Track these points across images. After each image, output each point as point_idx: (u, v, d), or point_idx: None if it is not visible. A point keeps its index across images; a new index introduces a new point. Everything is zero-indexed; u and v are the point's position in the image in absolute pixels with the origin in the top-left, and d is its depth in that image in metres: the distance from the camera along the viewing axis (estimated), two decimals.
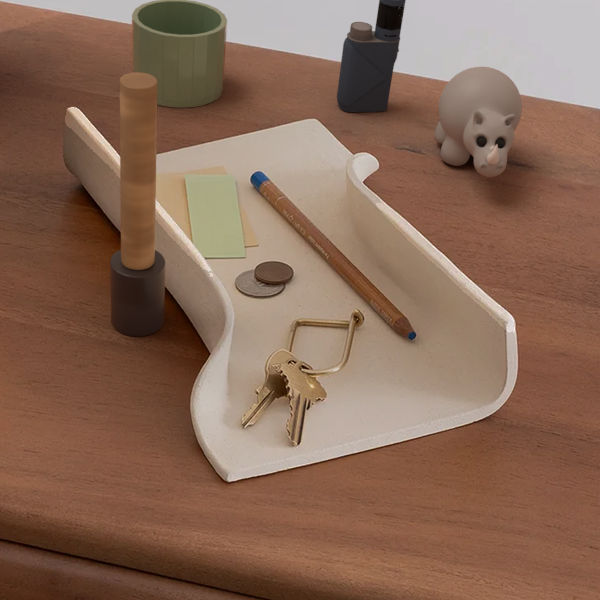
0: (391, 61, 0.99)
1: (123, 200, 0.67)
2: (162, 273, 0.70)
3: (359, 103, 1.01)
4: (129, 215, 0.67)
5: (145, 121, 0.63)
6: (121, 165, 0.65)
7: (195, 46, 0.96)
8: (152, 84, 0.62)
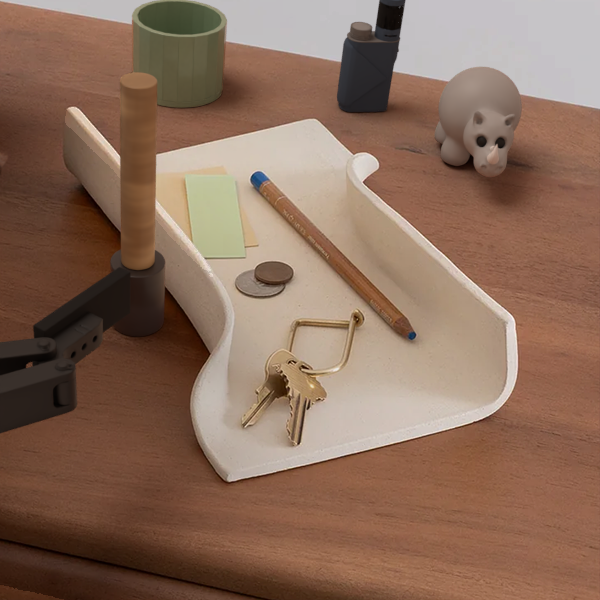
0: (391, 61, 0.99)
1: (123, 200, 0.67)
2: (162, 273, 0.70)
3: (359, 103, 1.01)
4: (129, 215, 0.67)
5: (145, 121, 0.63)
6: (121, 165, 0.65)
7: (195, 46, 0.96)
8: (152, 84, 0.62)
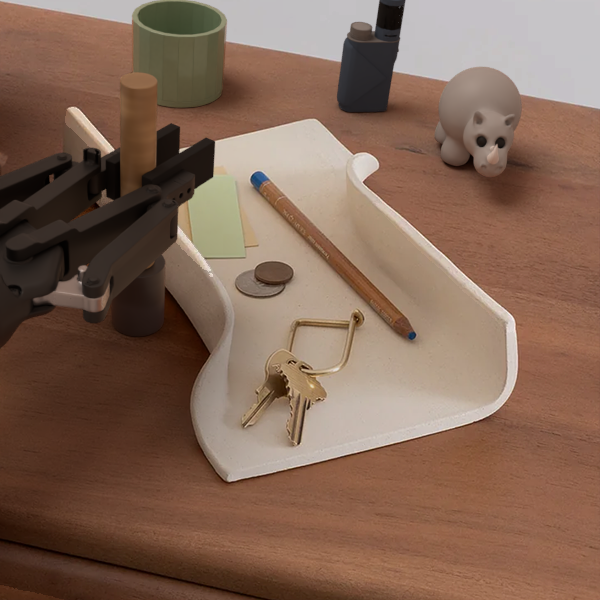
0: (391, 61, 0.99)
1: None
2: (162, 273, 0.70)
3: (359, 103, 1.01)
4: None
5: (145, 121, 0.63)
6: (121, 165, 0.65)
7: (195, 46, 0.96)
8: (152, 84, 0.62)
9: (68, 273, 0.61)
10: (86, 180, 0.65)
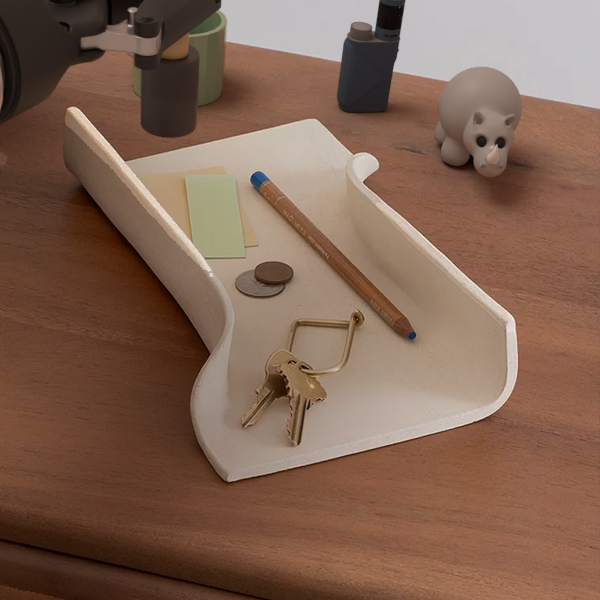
0: (391, 61, 0.99)
1: None
2: (197, 64, 0.66)
3: (359, 103, 1.01)
4: None
5: None
6: None
7: (195, 46, 0.96)
8: None
9: None
10: None
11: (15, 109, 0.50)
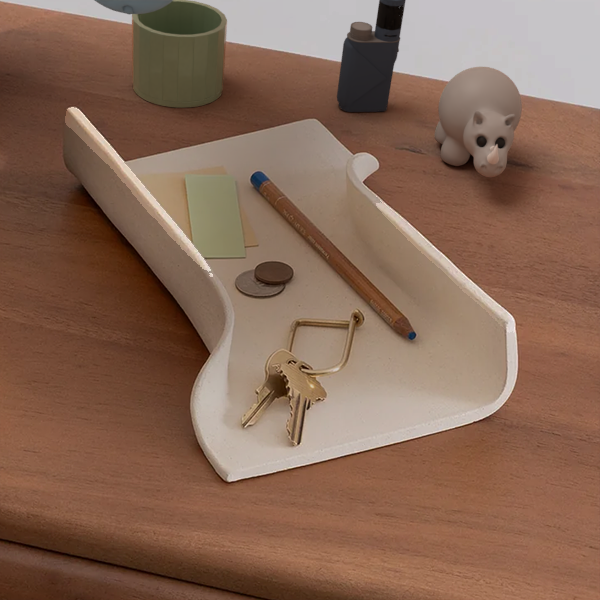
0: (391, 61, 0.99)
1: None
2: None
3: (359, 103, 1.01)
4: None
5: None
6: None
7: (195, 46, 0.96)
8: None
9: None
10: None
11: None
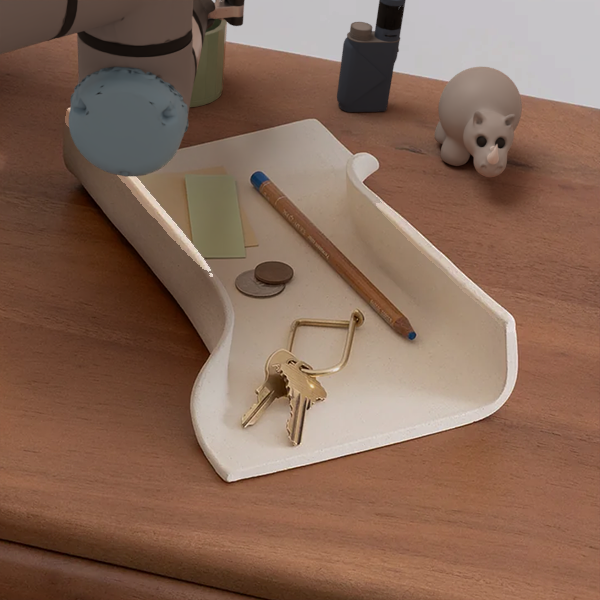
0: (391, 61, 0.99)
1: None
2: None
3: (359, 103, 1.01)
4: None
5: None
6: None
7: None
8: None
9: None
10: None
11: None
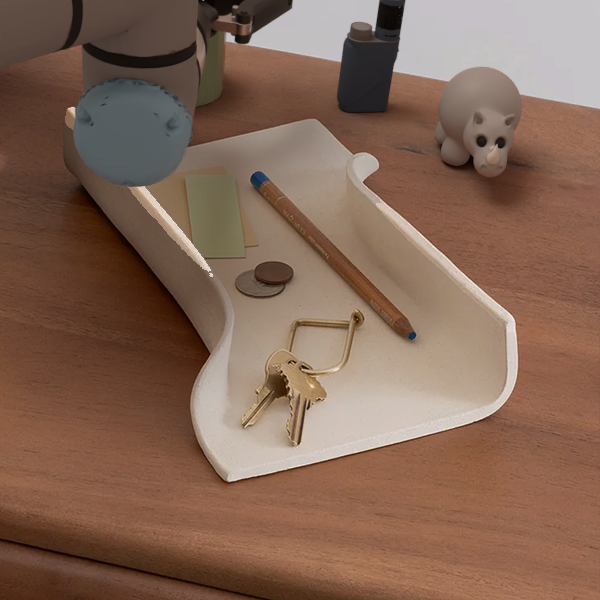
0: (391, 61, 0.99)
1: None
2: None
3: (359, 103, 1.01)
4: None
5: None
6: None
7: None
8: None
9: None
10: None
11: None
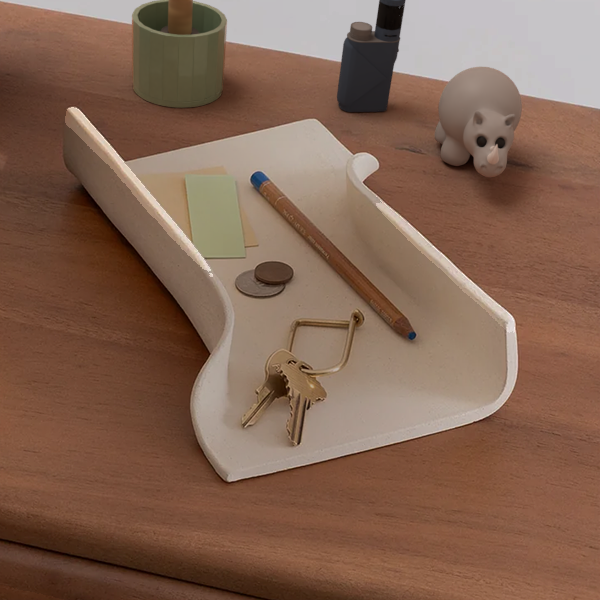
0: (391, 61, 0.99)
1: None
2: None
3: (359, 103, 1.01)
4: None
5: None
6: None
7: (195, 46, 0.96)
8: None
9: None
10: None
11: None
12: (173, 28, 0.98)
